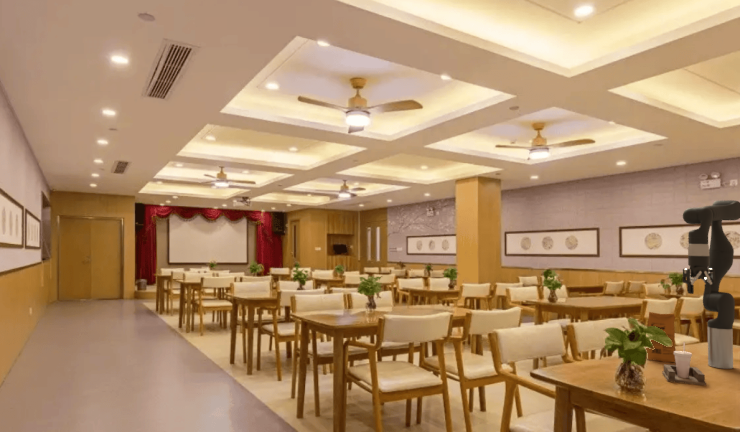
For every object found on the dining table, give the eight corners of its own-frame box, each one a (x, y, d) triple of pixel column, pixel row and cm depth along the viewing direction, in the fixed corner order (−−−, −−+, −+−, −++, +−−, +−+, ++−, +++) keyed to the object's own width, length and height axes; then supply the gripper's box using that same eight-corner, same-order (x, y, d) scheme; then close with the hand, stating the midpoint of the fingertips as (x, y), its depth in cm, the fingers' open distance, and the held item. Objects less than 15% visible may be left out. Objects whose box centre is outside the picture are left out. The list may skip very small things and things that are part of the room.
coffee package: (646, 355, 244) (645, 310, 245) (676, 359, 237) (675, 312, 238) (645, 359, 235) (644, 312, 236) (676, 363, 229) (675, 315, 230)
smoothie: (695, 379, 199) (694, 343, 200) (677, 378, 201) (677, 342, 201) (688, 375, 206) (688, 340, 206) (671, 373, 207) (670, 339, 207)
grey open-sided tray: (662, 373, 211) (662, 363, 211) (698, 377, 206) (698, 367, 207) (667, 381, 199) (667, 371, 199) (706, 385, 194) (706, 375, 195)
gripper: (692, 255, 206) (692, 294, 205) (720, 255, 209) (721, 294, 209) (677, 254, 213) (677, 292, 213) (704, 254, 217) (705, 292, 216)
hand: (699, 293), depth 211 cm, fingers open, 8 cm apart
